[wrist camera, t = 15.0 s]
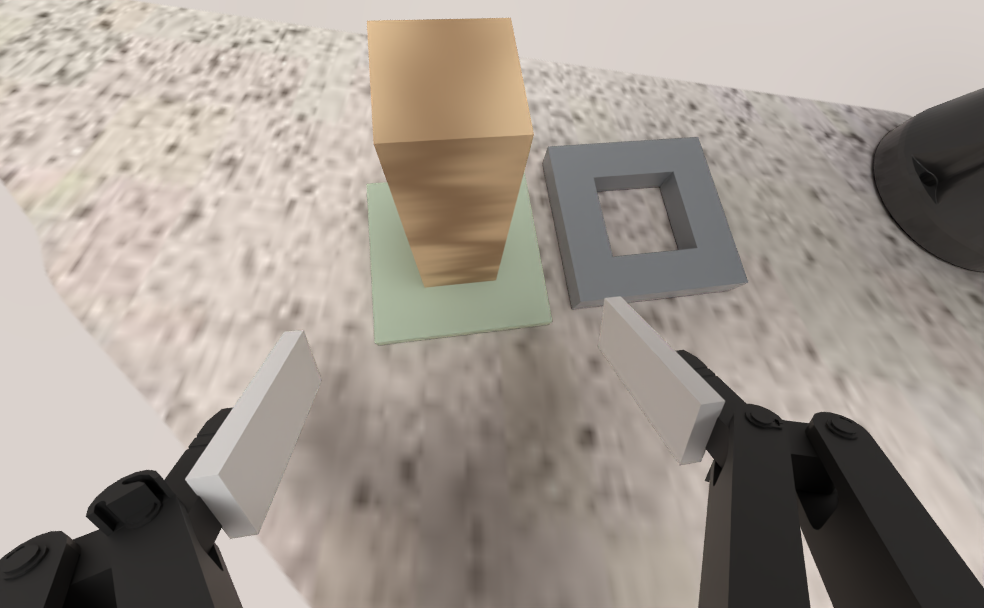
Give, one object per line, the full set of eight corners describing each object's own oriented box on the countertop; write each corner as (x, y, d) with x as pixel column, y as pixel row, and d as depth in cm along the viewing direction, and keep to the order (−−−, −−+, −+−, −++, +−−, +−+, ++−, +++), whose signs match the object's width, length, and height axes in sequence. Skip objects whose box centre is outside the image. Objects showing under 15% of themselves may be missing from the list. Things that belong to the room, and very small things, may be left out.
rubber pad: (522, 180, 28) (524, 172, 27) (548, 324, 25) (552, 321, 24) (370, 191, 27) (366, 183, 26) (378, 345, 24) (374, 343, 23)
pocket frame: (683, 153, 30) (698, 137, 28) (727, 291, 27) (748, 282, 25) (542, 163, 29) (548, 146, 27) (572, 309, 25) (580, 301, 24)
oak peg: (486, 217, 26) (511, 18, 12) (495, 280, 25) (533, 134, 11) (418, 222, 25) (366, 20, 12) (424, 287, 24) (373, 143, 11)
